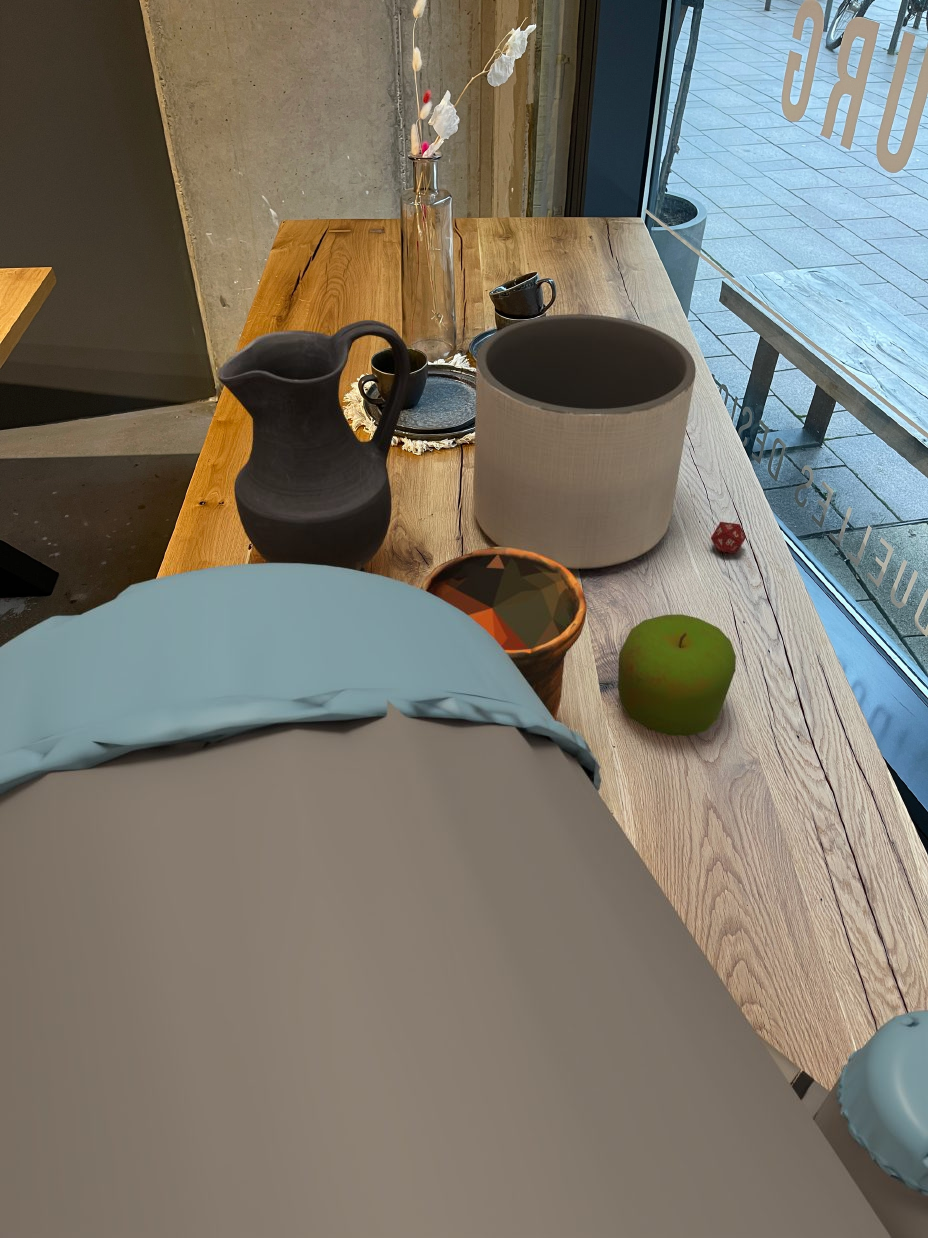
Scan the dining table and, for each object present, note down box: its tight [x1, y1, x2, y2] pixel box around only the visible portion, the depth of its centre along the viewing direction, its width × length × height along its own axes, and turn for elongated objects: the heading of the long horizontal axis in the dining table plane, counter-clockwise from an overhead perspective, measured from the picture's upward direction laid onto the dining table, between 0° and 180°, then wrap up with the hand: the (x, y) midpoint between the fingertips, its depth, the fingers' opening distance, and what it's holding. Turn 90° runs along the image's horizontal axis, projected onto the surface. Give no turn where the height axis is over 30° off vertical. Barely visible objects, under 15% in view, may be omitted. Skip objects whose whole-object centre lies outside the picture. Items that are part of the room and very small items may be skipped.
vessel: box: [420, 546, 587, 721], centre depth 83 cm, size 14×14×20 cm
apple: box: [617, 613, 737, 737], centre depth 90 cm, size 11×11×11 cm
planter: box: [472, 313, 697, 570], centre depth 112 cm, size 25×25×22 cm
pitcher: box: [218, 319, 411, 572], centre depth 101 cm, size 17×21×30 cm
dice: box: [710, 521, 747, 555], centre depth 112 cm, size 4×4×4 cm
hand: (416, 831), depth 65 cm, fingers closed
